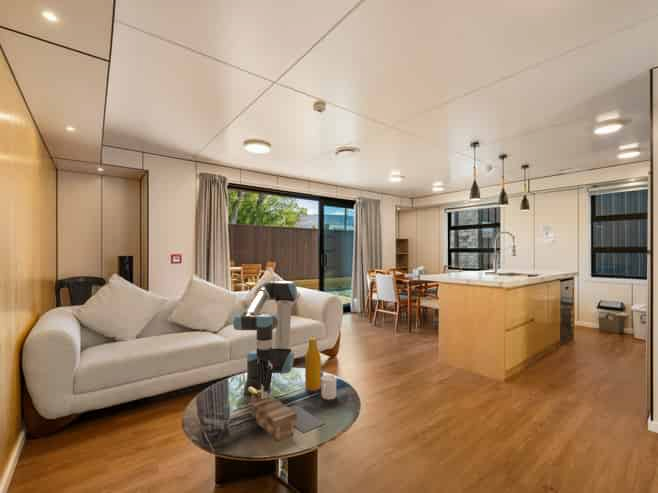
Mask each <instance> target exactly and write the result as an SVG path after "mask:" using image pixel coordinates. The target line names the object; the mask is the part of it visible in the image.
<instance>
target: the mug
mask: <svg viewBox="0 0 658 493" xmlns="http://www.w3.org/2000/svg"><path fill="white" fill-rule="evenodd" d="M320 389H321V392H320V393H321V398H323V399H324V400H326V401H327V400H330V399H331V400H334V399H336V398H337V377H336V376H334V375H329V374H328V375H323V376H321V387H320Z"/></svg>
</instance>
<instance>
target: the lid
mask: <svg viewBox="0 0 658 493" xmlns="http://www.w3.org/2000/svg"><path fill="white" fill-rule="evenodd" d="M289 407H290V406H287V405H285V403H283V402H282V401H280V400H279V399H277V398H275V397H274V396H272V397H269V398H265V400H263V401H260V402H257V403H254V404H253V411H254V412H255V413H257V414H258V415H259V416H260V417H261V418H263V419H264V420H265V421H266V422H268V423H269V424H270V425H271V426H272V427H274V428H277V427H280V426H282V425H285V424H287V423H290V422H292V421H295V420H297V413H296V412H295V411H293V410H292V409H290V408H289Z"/></svg>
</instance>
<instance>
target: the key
mask: <svg viewBox="0 0 658 493" xmlns="http://www.w3.org/2000/svg"><path fill="white" fill-rule="evenodd" d="M248 391H250V392H251V393H252V392H254V393H255V396H256V397H258V398H259V397H261V390H256V389H255V388H253V387H252V386H251V387H248Z"/></svg>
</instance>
